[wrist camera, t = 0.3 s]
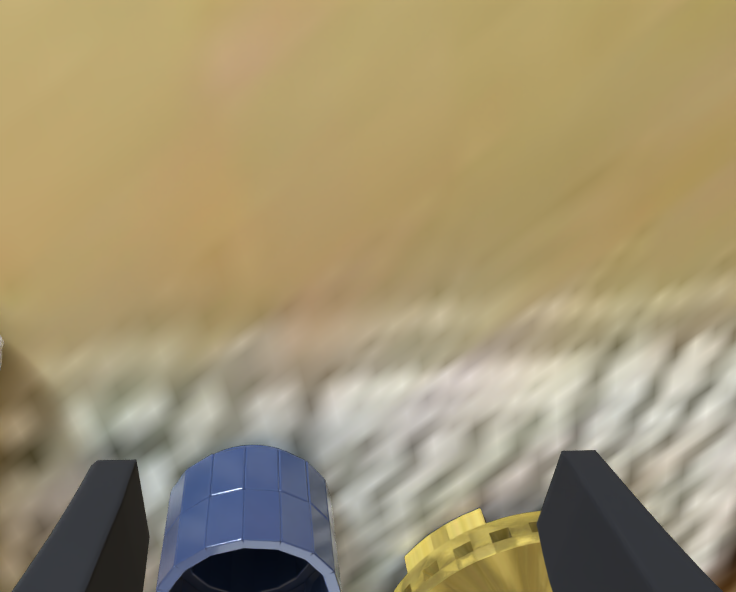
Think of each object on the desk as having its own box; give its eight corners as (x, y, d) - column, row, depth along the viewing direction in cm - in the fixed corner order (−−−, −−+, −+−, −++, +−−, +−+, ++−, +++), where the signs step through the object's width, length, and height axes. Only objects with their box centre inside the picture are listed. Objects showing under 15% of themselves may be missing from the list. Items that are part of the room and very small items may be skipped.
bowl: (237, 571, 27) (233, 683, 23) (137, 489, 25) (113, 600, 21) (358, 502, 26) (374, 607, 22) (267, 409, 24) (267, 510, 20)
